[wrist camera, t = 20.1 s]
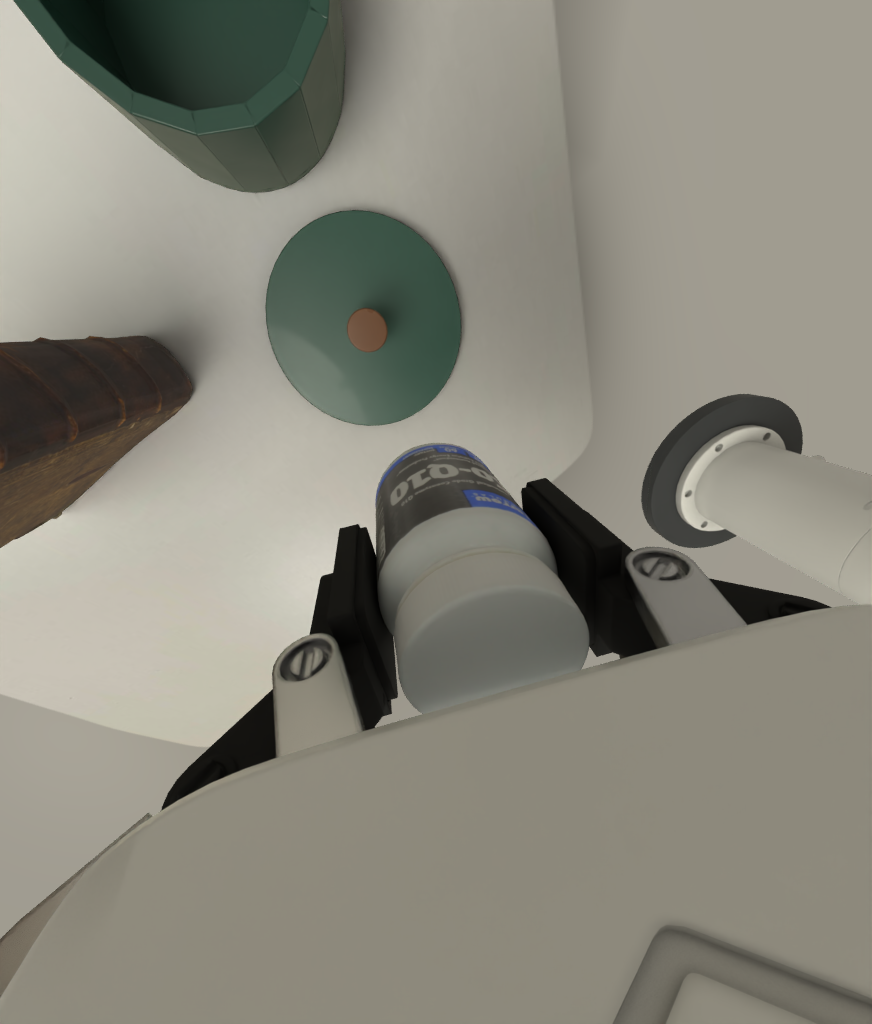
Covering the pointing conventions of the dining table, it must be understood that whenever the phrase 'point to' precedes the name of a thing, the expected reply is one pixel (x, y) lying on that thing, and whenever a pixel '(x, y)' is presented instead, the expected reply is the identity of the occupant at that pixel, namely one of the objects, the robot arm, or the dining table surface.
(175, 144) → the tin
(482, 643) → the pill bottle
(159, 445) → the dining table surface
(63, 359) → the book
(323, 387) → the tin lid
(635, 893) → the robot arm
